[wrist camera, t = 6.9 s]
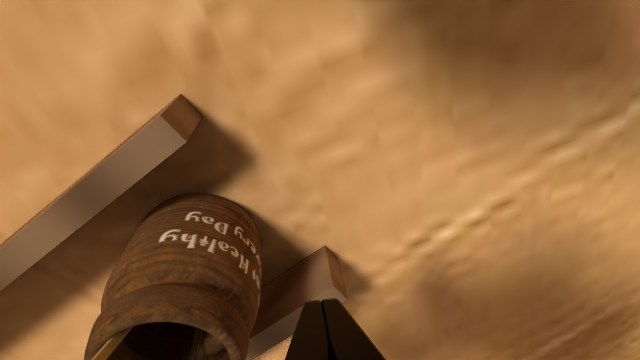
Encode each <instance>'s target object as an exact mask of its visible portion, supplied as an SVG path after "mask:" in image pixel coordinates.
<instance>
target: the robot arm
mask: <svg viewBox="0 0 640 360" xmlns="http://www.w3.org/2000/svg"><path fill="white" fill-rule="evenodd" d="M285 360H386V359H385V358H384V357H383V355H382V354H381V353H380V351H379V350H378V349H377V348H376V346H375V345H374V344H373V343H372V341H371V340H370V339H369V338H368V336H367V335H366V334H365V332H364V331H363V330H362V329H361V327H360V326H359V325H358V324H357V322H356V321H355V320H354V319H353V317H352V316H351V315H350V314H349V312H348V311H347V310H346V308H345V307H344V306H343V305H342V303H341V302H340V301H339V300H338V299H337V298H329V299H323V300H322V301H320V300H311V301H306V302H305V303H304V305H303V308H302V311H301V314H300V317H299V320H298V323H297V326H296V329H295V332H294V335H293V338H292V340H291V343H290V346H289V349H288V352H287V355H286V358H285Z"/></svg>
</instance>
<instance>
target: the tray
mask: <svg viewBox="0 0 640 360" xmlns="http://www.w3.org/2000/svg"><path fill="white" fill-rule="evenodd" d="M201 117H202V116H201V115H200V114H199V113H198V112H197V111H196V110H195V109H194V108H193V107H192V106H191V105H190V103H189V102H188V101H187V100H186V99H185V98H184V97H183V96H182V95H181V94H180V95H179V96H178V97H177V98H175V99H174V100H173V101H172V102H171V103H169V104H168V105H167V106H166V107H165V108H163V109H162V110H161V111H160V112H159V113H157V114H156V115H155V116H154V117H153V118H151V119H150V120H149V121H148V122H147V123H145V124H144V125H143V126H142V127H141V128H139V129H138V130H137V131H136V132H135V133H133V134H132V135H131V136H130V137H129V138H127V139H126V140H125V141H124V142H123V143H122V144H120V145H119V146H118V147H117V148H116V149H114V150H113V151H112V152H111V153H110V154H108V155H107V156H106V157H105V158H104V159H102V160H101V161H100V162H99V163H98V164H96V165H95V166H94V167H93V168H92V169H90V170H89V171H88V172H87V173H86V174H84V175H83V176H82V177H81V178H80V179H78V180H77V181H76V182H75V183H74V184H72V185H71V186H70V187H69V188H68V189H67V190H65V191H64V192H63V193H62V194H61V195H59V196H58V197H57V198H56V199H55V200H53V201H52V202H51V203H50V204H49V205H47V206H46V207H45V208H44V209H43V210H41V211H40V212H39V213H38V214H37V215H35V216H34V217H33V218H32V219H31V220H29V221H28V222H27V223H26V224H25V225H23V226H22V227H21V228H20V229H19V230H17V231H16V232H15V233H14V234H13V235H12V236H10V237H9V238H8V239H7V240H6V241H4V242H3V243H2V244H1V245H0V291H1V290H2V289H3V288H5V287H6V286H7V285H8V284H10V283H11V282H12V281H13V280H15V279H16V278H17V277H18V276H20V275H21V274H22V273H23V272H25V271H26V270H27V269H28V268H30V267H31V266H32V265H33V264H35V263H36V262H37V261H38V260H40V259H41V258H42V257H43V256H45V255H46V254H47V253H48V252H50V251H51V250H52V249H53V248H55V247H56V246H57V245H59V244H60V243H61V242H62V241H64V240H65V239H66V238H67V237H69V236H70V235H71V234H72V233H74V232H75V231H76V230H77V229H79V228H80V227H81V226H82V225H84V224H85V223H86V222H87V221H89V220H90V219H91V218H92V217H94V216H95V215H96V214H97V213H99V212H100V211H101V210H102V209H104V208H105V207H106V206H107V205H109V204H110V203H111V202H112V201H114V200H115V199H116V198H117V197H119V196H120V195H121V194H122V193H124V192H125V191H126V190H127V189H129V188H130V187H131V186H132V185H134V184H135V183H136V182H137V181H139V180H140V179H141V178H142V177H144V176H145V175H146V174H147V173H149V172H150V171H151V170H152V169H154V168H155V167H156V166H157V165H159V164H160V163H161V162H162V161H164V160H165V159H166V158H167V157H169V156H170V155H171V154H172V153H174V152H175V151H176V150H177V149H179V148H180V147H181V146H182V145H184V144H185V143H186V142H187V141H188V139H189V137H190V136H191V134H192V132H193V131H194V129H195V127H196V126H197V124H198V122H199V121H200V119H201ZM329 298H337V299H338V300H339V301H340V302H341V303H342V304H343V303H344V302H346V301H347V300H348V299H347V295H346V291H345V287H344V283H343V279H342V275H341V271H340V267H339V263H338V259H337V258H336V257H335V256H334V255H333V254H332V253H331V252H330V251H329V250H328V249H327V248H326V246H324V247H322V248H321V249H319V250H318V251H316V252H315V253H313V254H312V255H310V256H309V257H307V258H306V259H304V260H303V261H301V262H300V263H298V264H297V265H295V266H293V267H292V268H290V269H289V270H287V271H286V272H284V273H283V274H281V275H280V276H278V277H277V278H275V279H274V280H272V281H271V282H269V283H268V284H266V285H265V286H263V287H262V288H260V300H259V308H258V313H257V317H256V321H255V324H254V326H253V329H252V330H251V332H250V334H249V347H248V353H247V357H246V360H252V359H254V358H255V357H257V356H259V355H260V354H262V353H263V352H265V351H267V350H268V349H270V348H272V347H273V346H275V345H276V344H278V343H280V342H281V341H283V340H284V339H286V338H288V337H289V336H291V335H293V334H294V332H295V329H296V326H297V323H298V320H299V317H300V314H301V311H302V308H303V305H304V303H305V302H306V301H311V300H320V301H322V300H323V299H329Z"/></svg>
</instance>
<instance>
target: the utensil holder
mask: <svg viewBox="0 0 640 360" xmlns="http://www.w3.org/2000/svg"><path fill="white" fill-rule="evenodd" d="M261 259H262V254H261V242H260V237H259V233H258V230H257V228H256V226H255V224H254V222H253V221H252V220H251V218H250V217H249V216H248V215H247V214H246V213H245V212H244V211H243V210H242V209H241V208H240V207H238V206H237V205H235V204H234V203H232V202H230V201H228V200H226V199H223V198H220V197H217V196H213V195H207V194H188V195H182V196H178V197H175V198H172V199H170V200H167V201H165V202H163V203H162V204H160V205H159V206H157V207H156V208H155V209H153V210H152V211H151V212H150V213H149V214H148V215H147V216H146V218H145V219H144V220H143V221H142V223H141V224H140V225H139V227H138V228H137V230H136V232H135V233H134V235H133V236H132V238H131V240H130V241H129V243H128V245H127V247H126V248H125V250H124V252H123V253H122V255H121V257H120V259H119V260H118V262H117V264H116V266H115V268H114V269H113V271H112V273H111V275H110V277H109V279H108V282H107V284H106V287H105V290H104V293H103V297H102V302H101V314H100V315H99V317H98V318H97V320H96V321H95V323H94V325H93V328H92V330H91V333H90V336H89V339H88V343H87V347H86V350H85V356H84V360H246V357H247V353H248V347H249V334H250V332H251V330H252V329H253V326H254V324H255V321H256V317H257V313H258V308H259V300H260V285H261Z"/></svg>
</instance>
